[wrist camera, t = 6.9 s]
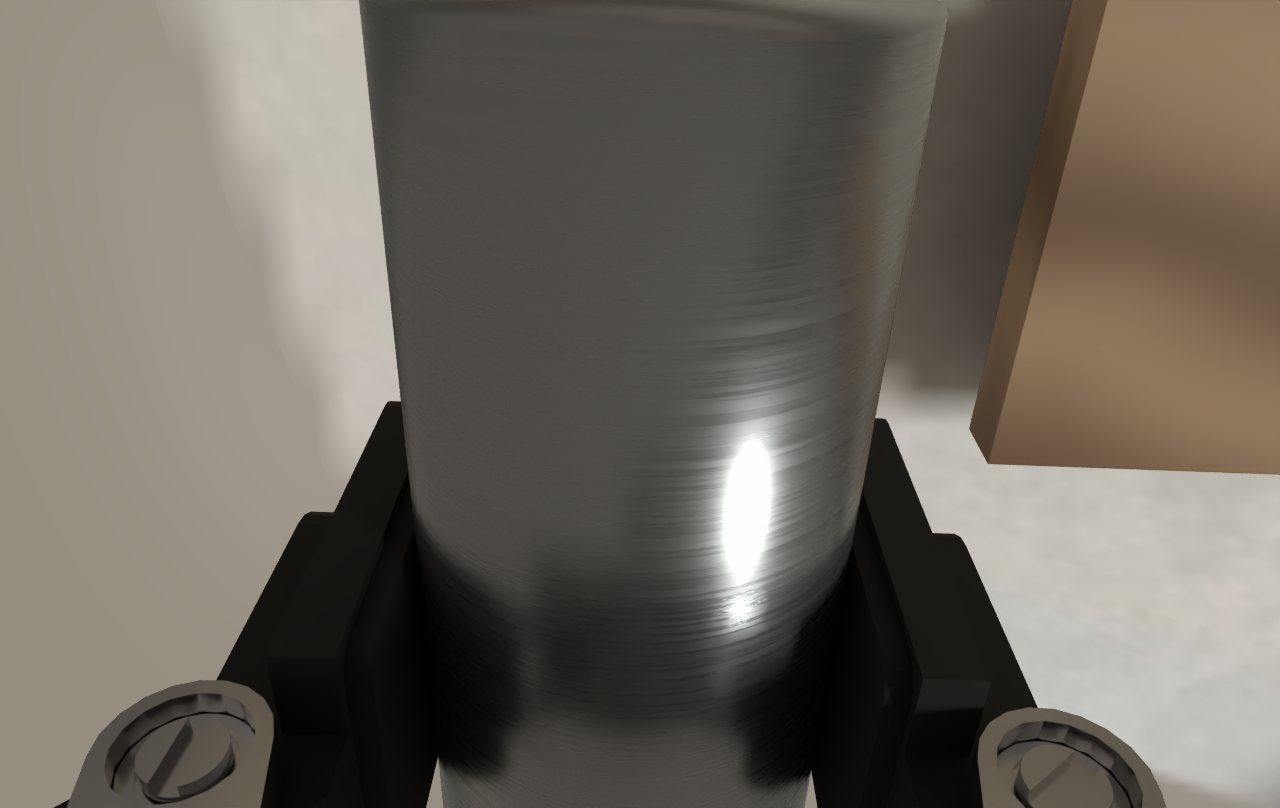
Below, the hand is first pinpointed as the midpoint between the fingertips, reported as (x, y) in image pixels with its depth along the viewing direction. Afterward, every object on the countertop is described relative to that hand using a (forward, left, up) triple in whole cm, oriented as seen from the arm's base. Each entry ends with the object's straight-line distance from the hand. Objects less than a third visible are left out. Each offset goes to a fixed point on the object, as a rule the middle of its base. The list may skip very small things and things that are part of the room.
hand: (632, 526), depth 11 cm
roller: (0, 0, +2) cm, 2 cm away
